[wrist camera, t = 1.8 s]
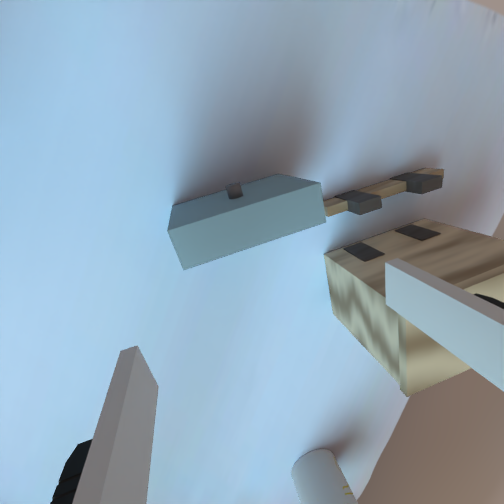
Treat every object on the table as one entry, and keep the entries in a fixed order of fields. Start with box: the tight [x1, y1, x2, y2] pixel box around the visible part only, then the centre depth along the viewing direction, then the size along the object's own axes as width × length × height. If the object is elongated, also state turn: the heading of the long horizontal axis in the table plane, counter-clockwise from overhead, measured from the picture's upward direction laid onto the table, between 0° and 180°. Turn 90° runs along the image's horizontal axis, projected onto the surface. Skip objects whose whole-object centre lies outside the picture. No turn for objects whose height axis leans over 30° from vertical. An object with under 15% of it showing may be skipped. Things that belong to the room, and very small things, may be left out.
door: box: [167, 174, 326, 270], centre depth 22 cm, size 4×11×9 cm, turn 105°
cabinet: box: [323, 168, 504, 397], centre depth 27 cm, size 16×14×13 cm
